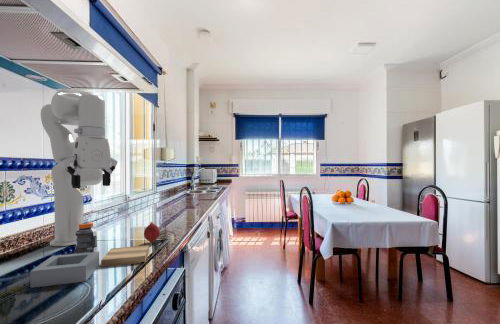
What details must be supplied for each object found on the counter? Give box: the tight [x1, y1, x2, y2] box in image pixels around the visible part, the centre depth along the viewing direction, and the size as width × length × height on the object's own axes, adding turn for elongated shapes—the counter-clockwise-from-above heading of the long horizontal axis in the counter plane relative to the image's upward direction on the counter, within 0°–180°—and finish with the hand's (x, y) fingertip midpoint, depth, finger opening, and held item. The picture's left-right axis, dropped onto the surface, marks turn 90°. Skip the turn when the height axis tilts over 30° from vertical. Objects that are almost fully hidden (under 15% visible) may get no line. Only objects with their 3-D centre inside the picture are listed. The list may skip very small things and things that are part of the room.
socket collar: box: [29, 251, 100, 288], centre depth 73 cm, size 12×12×4 cm
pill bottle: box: [75, 221, 98, 254], centre depth 87 cm, size 6×6×11 cm
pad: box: [100, 244, 150, 268], centre depth 86 cm, size 12×12×2 cm
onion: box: [143, 221, 161, 244], centre depth 104 cm, size 6×6×8 cm
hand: (92, 186), depth 87 cm, fingers open, 9 cm apart
